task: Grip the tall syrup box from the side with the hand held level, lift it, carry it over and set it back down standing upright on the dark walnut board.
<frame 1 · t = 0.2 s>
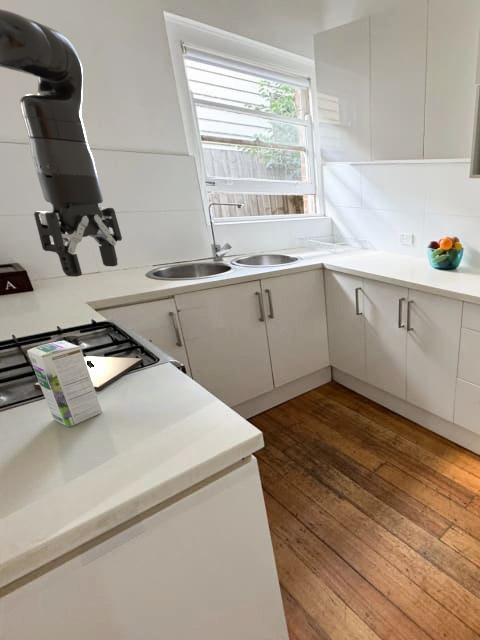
hand: (93, 270, 68), 27 cm above the worktop, tool pointing down, fingers open, 8 cm apart
syrup box: (79, 416, 73), on the worktop
walnut board: (93, 374, 88), on the worktop
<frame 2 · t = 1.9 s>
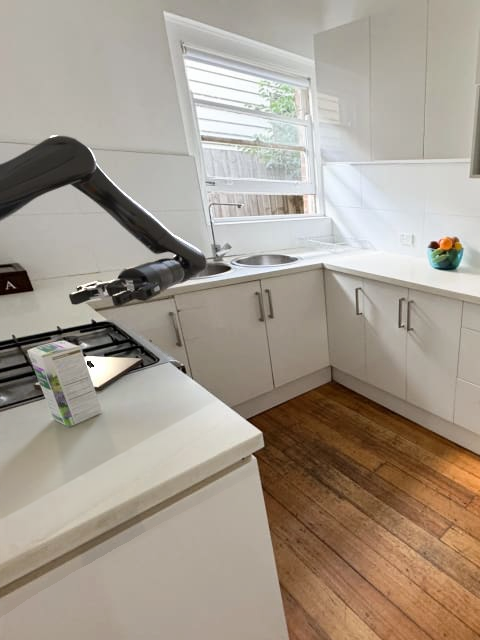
hand: (93, 300, 75), 20 cm above the worktop, tool horizontal, fingers open, 8 cm apart
nothing on the worktop moved.
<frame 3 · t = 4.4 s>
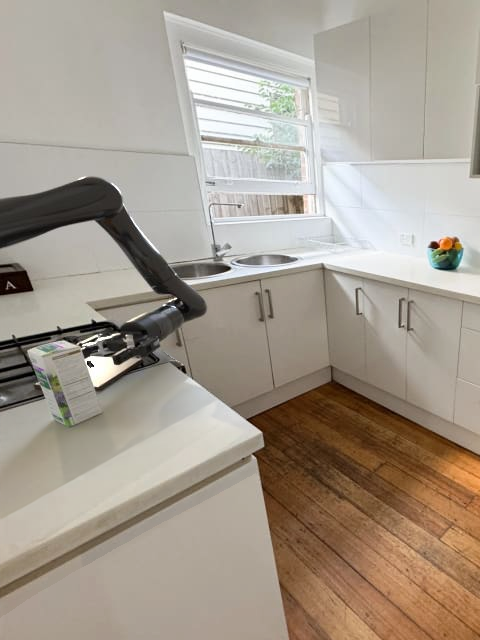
hand: (93, 360, 76), 9 cm above the worktop, tool horizontal, fingers open, 8 cm apart
nothing on the worktop moved.
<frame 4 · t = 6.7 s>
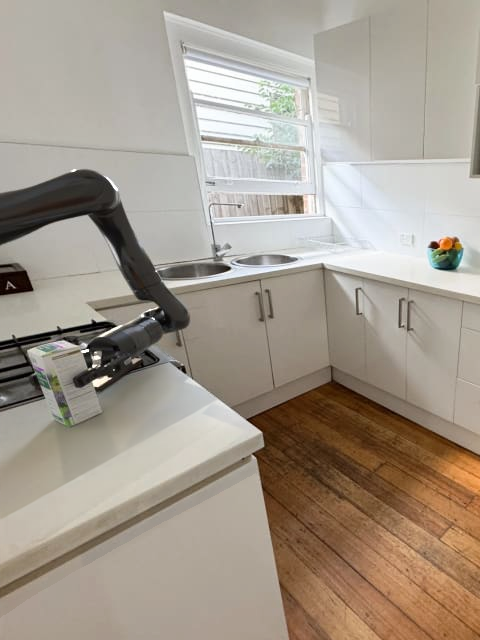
hand: (54, 382, 68), 9 cm above the worktop, tool horizontal, fingers closed on syrup box, 7 cm apart
syrup box: (79, 416, 73), on the worktop, touching gripper
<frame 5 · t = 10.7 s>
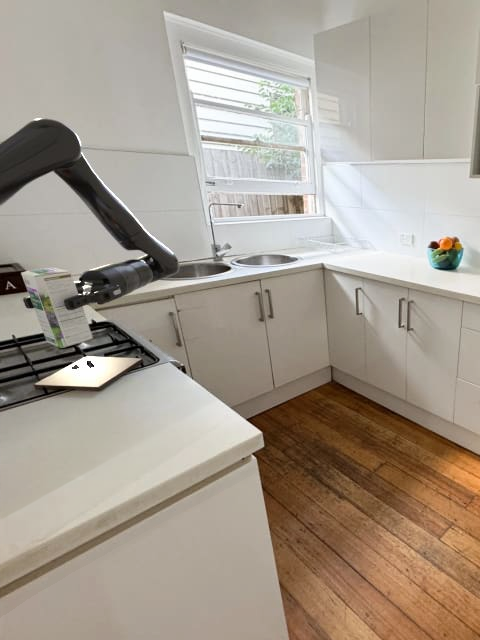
hand: (46, 304, 72), 20 cm above the worktop, tool horizontal, fingers closed on syrup box, 7 cm apart
syrup box: (71, 341, 78), point 11 cm above the worktop, touching gripper
when the fingers open (10 cm above the worktop, at t = 15.0 s): syrup box stays where it is, resting on walnut board.
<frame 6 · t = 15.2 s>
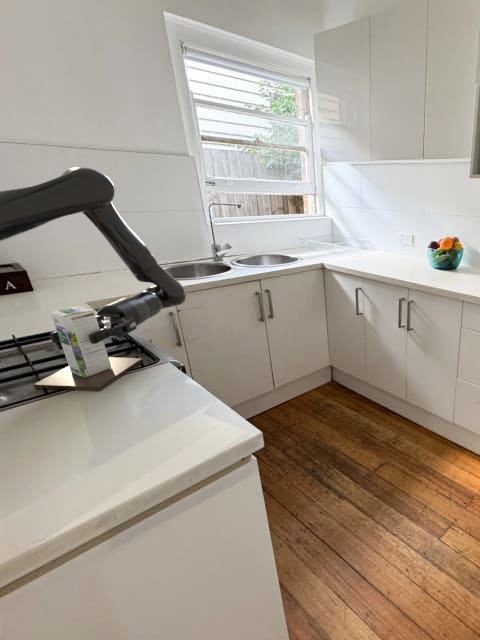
hand: (72, 339, 82), 10 cm above the worktop, tool horizontal, fingers open, 8 cm apart
syrup box: (92, 370, 88), point 1 cm above the worktop, touching walnut board
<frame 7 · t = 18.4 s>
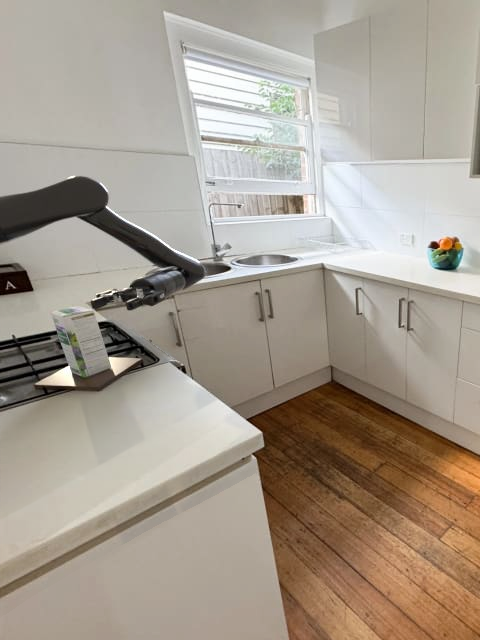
hand: (110, 305, 92), 13 cm above the worktop, tool horizontal, fingers open, 8 cm apart
nothing on the worktop moved.
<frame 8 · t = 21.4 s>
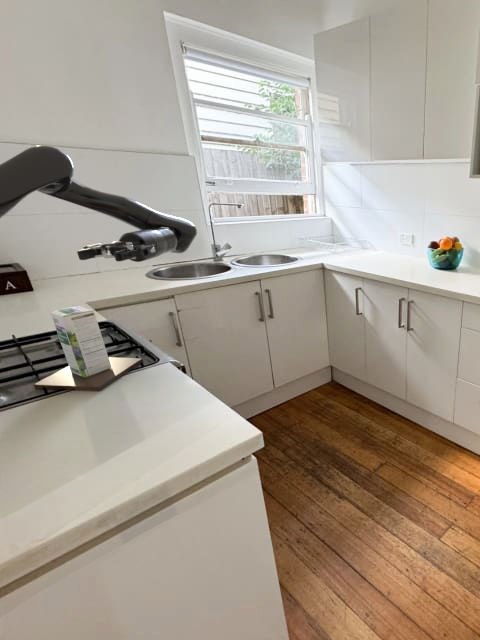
hand: (98, 256, 88), 25 cm above the worktop, tool horizontal, fingers open, 8 cm apart
nothing on the worktop moved.
at the end: syrup box inside the target area on the walnut board (0.1 cm from its centre), point 0.8 cm above the walnut board's base; syrup box tilted 0°; the gripper is holding nothing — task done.
